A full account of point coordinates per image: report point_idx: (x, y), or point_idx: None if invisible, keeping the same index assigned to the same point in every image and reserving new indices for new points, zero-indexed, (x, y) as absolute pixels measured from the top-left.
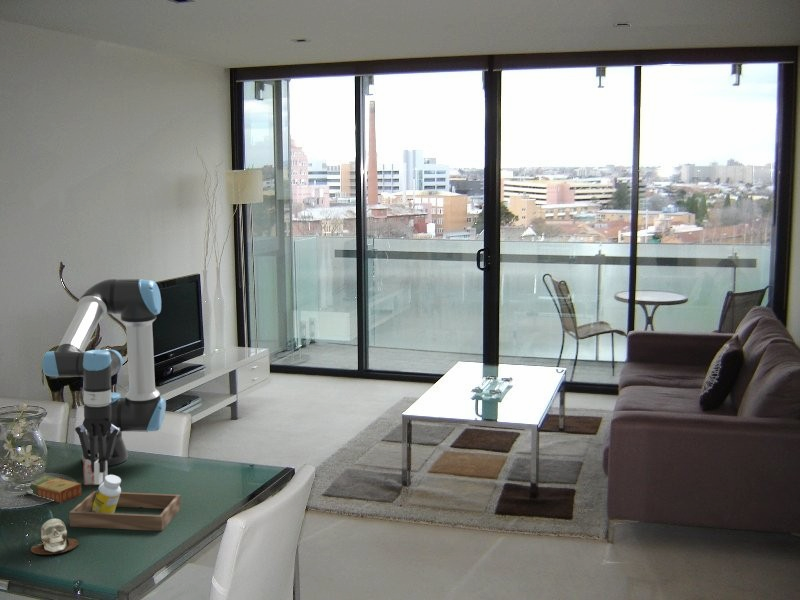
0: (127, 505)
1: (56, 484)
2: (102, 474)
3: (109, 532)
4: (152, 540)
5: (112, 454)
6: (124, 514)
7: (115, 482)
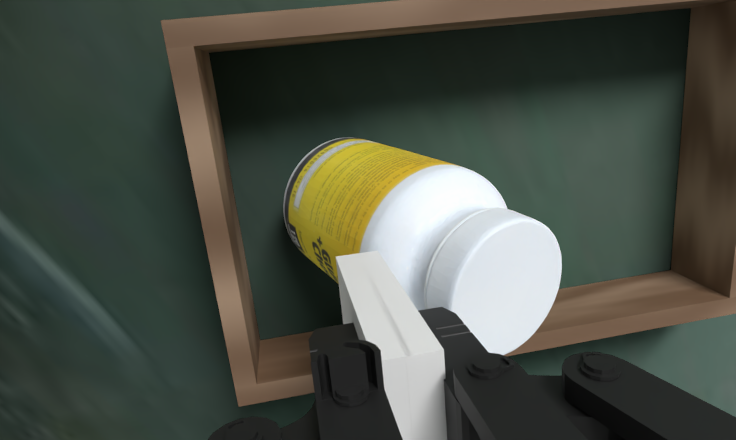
0: (416, 33)
1: None
2: (393, 277)
3: None
4: (668, 374)
5: (661, 382)
6: (556, 341)
7: (537, 313)
